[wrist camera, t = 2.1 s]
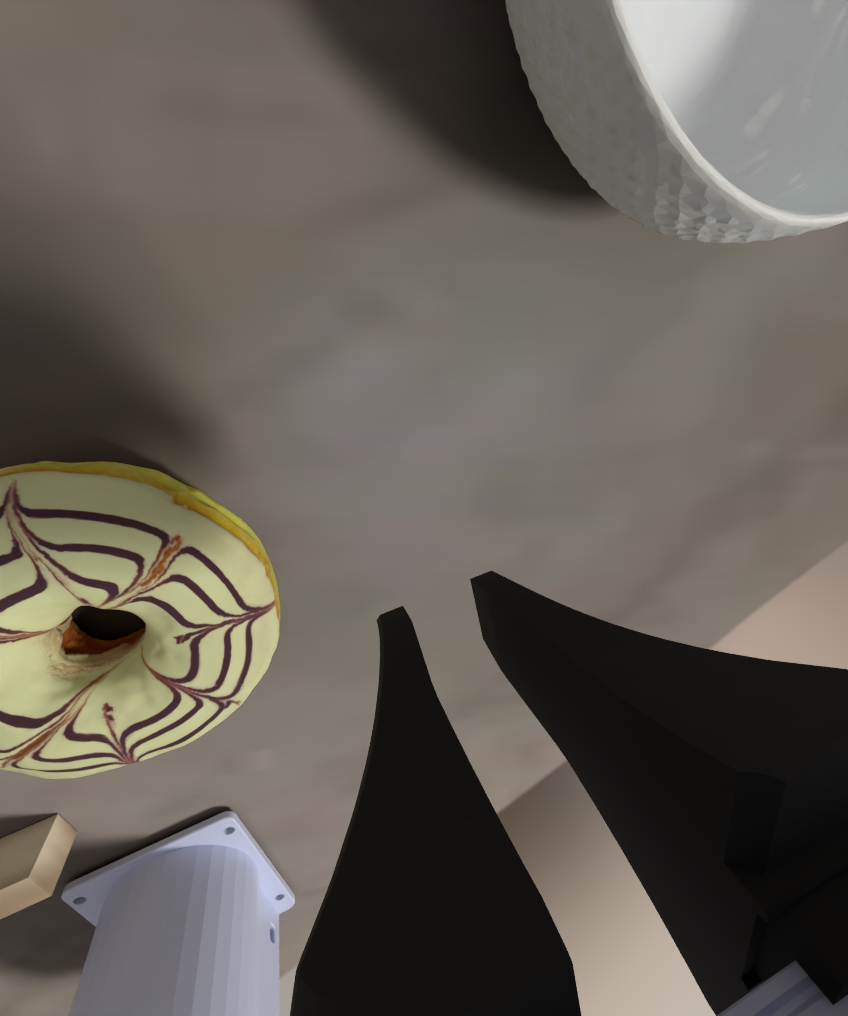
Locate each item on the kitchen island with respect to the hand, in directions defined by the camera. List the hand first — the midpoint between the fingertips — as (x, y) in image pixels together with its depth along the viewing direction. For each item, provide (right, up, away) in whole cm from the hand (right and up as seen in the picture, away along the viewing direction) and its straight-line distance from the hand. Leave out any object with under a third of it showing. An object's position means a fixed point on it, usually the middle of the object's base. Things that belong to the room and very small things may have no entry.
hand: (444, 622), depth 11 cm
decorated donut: (-12, 0, +6) cm, 14 cm away
